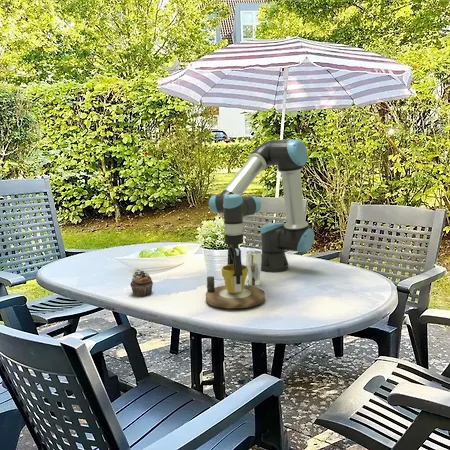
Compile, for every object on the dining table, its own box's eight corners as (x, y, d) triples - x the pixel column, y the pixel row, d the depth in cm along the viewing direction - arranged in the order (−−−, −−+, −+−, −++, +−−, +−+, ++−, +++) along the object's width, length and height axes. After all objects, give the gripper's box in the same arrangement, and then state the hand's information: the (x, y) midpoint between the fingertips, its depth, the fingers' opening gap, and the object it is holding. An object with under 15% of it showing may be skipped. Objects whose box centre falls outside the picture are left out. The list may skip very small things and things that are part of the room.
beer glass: (244, 283, 217) (243, 251, 214) (257, 281, 220) (257, 249, 217) (250, 287, 211) (250, 254, 208) (264, 285, 213) (264, 252, 211)
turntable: (256, 287, 207) (256, 269, 206) (272, 305, 184) (271, 285, 182) (201, 291, 203) (201, 273, 201) (210, 310, 179) (210, 290, 178)
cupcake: (158, 293, 206) (156, 271, 204) (139, 299, 199) (138, 275, 198) (144, 289, 213) (143, 267, 211) (126, 294, 206) (125, 272, 204)
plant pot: (245, 295, 187) (245, 271, 185) (220, 294, 189) (219, 270, 187) (249, 287, 197) (249, 264, 195) (225, 286, 199) (224, 263, 197)
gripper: (219, 229, 199) (221, 280, 203) (230, 239, 177) (231, 296, 181) (236, 228, 200) (238, 278, 204) (249, 238, 178) (250, 295, 182)
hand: (235, 287), depth 192 cm, fingers closed on plant pot, 10 cm apart
